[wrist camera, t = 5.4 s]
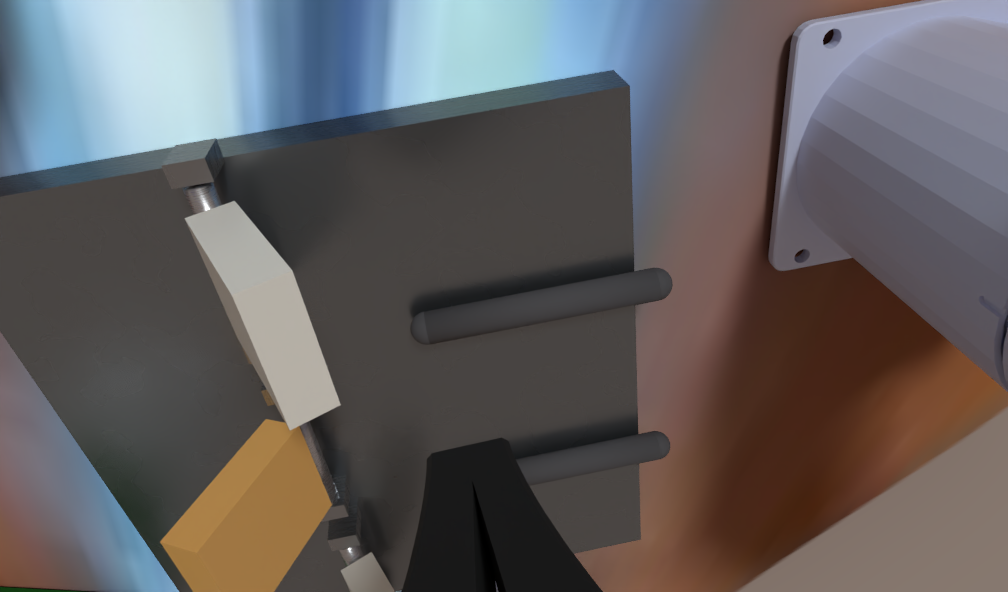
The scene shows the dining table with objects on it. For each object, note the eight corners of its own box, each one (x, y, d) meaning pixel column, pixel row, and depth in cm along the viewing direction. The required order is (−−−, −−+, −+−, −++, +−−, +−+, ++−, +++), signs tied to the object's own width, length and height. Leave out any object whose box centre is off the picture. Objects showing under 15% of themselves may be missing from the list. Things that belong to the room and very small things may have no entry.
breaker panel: (612, 51, 18) (645, 80, 16) (630, 517, 30) (651, 575, 27) (-61, 168, 18) (-130, 217, 15) (218, 603, 29) (203, 670, 26)
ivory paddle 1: (234, 200, 16) (292, 270, 13) (281, 319, 18) (340, 404, 15) (184, 218, 16) (231, 294, 13) (237, 338, 18) (289, 430, 15)
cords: (665, 258, 21) (677, 275, 20) (664, 442, 25) (673, 462, 24) (406, 308, 20) (407, 327, 19) (452, 485, 25) (454, 507, 24)
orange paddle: (298, 425, 20) (196, 552, 17) (332, 504, 22) (246, 632, 19) (265, 418, 20) (159, 541, 17) (301, 497, 22) (212, 620, 19)
